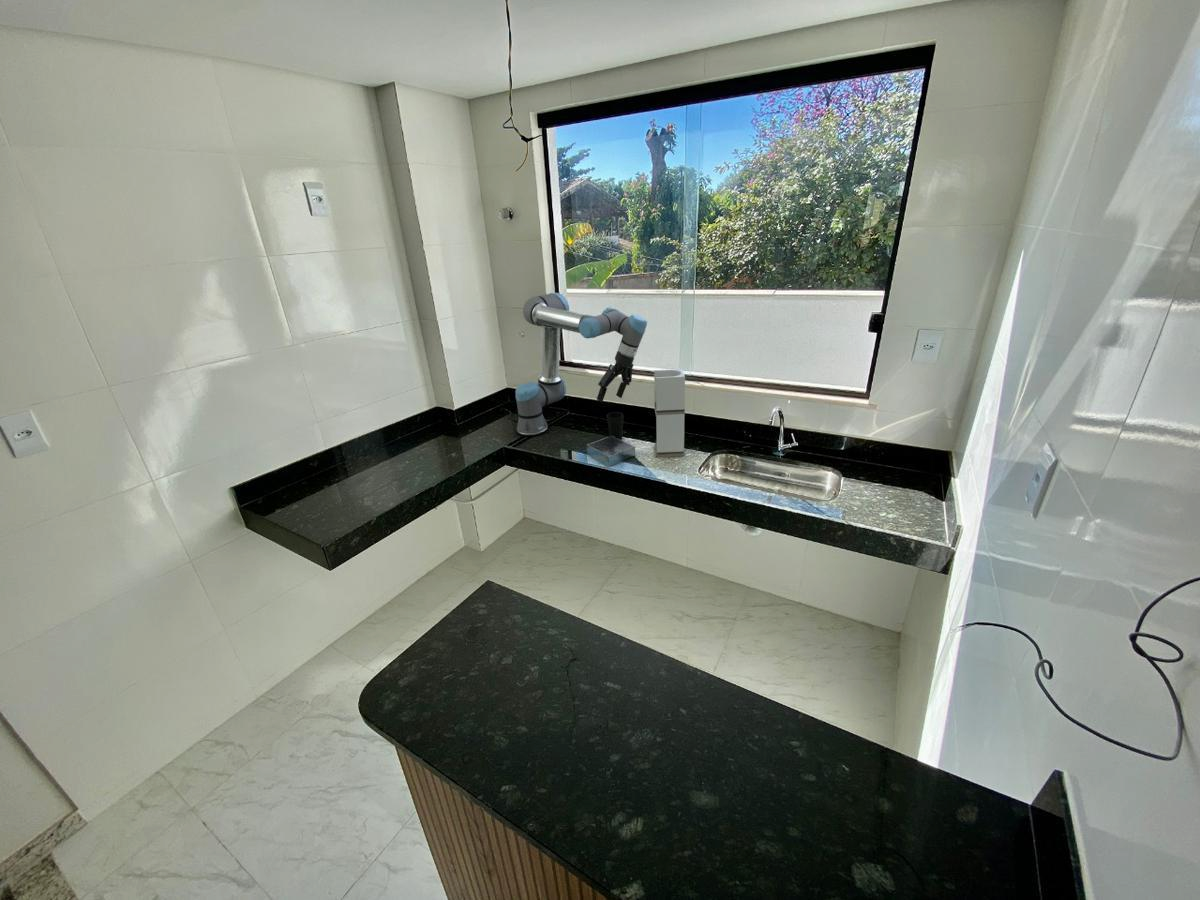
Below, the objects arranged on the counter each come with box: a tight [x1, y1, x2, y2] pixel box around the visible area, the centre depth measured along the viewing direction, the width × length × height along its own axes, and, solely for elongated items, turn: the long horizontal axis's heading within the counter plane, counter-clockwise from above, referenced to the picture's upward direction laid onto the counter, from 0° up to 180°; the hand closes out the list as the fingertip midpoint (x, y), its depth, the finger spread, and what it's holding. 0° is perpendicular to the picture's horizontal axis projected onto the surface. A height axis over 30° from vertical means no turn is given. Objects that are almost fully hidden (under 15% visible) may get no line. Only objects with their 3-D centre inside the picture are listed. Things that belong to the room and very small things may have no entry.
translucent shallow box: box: [586, 435, 636, 467], centre depth 210 cm, size 16×14×4 cm
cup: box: [606, 411, 624, 441], centre depth 223 cm, size 8×8×12 cm
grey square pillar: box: [653, 368, 686, 458], centre depth 204 cm, size 11×11×35 cm
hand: (609, 398), depth 207 cm, fingers open, 13 cm apart
